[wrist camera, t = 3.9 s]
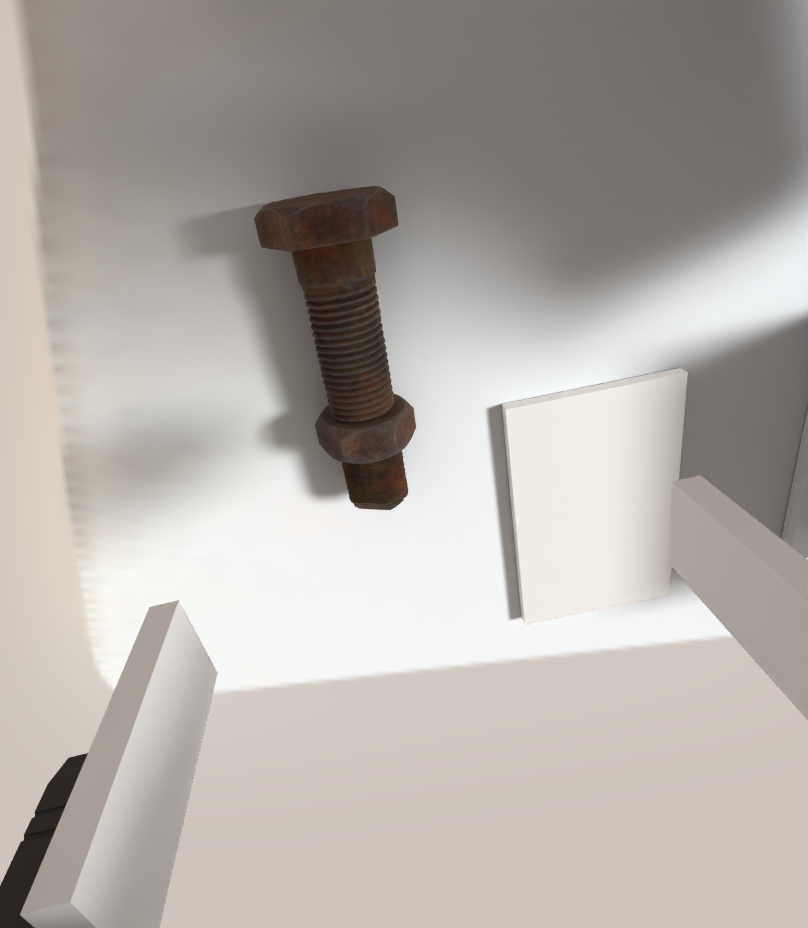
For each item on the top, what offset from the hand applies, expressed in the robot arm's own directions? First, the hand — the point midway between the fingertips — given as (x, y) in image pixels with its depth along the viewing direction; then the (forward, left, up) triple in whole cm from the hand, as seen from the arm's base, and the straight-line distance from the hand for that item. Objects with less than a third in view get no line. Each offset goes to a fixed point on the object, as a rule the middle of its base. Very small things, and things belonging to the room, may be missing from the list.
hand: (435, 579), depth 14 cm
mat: (+11, +11, -16) cm, 22 cm away
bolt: (-2, -2, -16) cm, 17 cm away
